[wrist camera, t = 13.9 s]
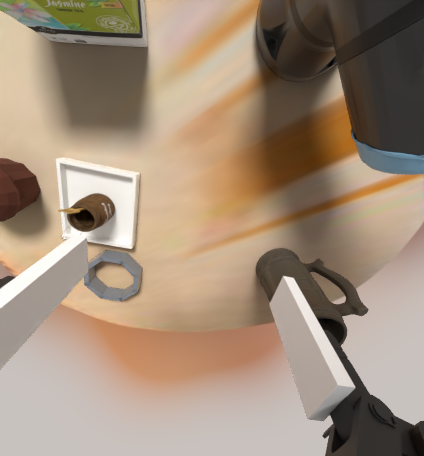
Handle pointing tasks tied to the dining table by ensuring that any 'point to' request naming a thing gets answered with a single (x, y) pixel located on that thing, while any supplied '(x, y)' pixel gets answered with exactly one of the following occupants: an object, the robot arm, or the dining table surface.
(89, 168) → the tray
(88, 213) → the utensil holder
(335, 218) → the dining table surface
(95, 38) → the tea box
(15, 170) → the muffin
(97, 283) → the grey octagonal ring
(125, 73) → the dining table surface
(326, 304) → the beer stein
